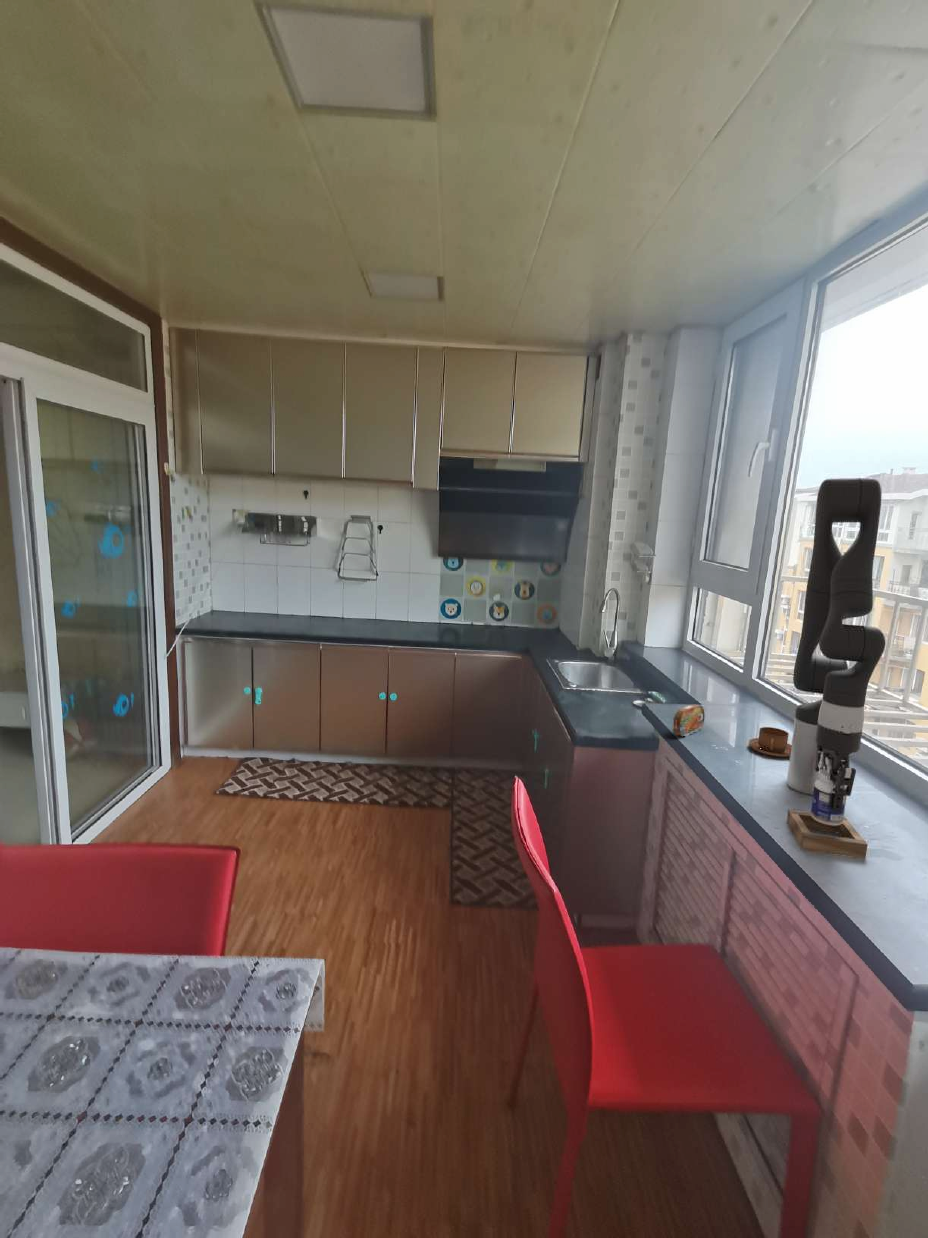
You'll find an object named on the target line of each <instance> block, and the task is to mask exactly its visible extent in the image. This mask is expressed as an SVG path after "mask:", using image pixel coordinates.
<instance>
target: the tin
mask: <svg viewBox="0 0 928 1238" xmlns="http://www.w3.org/2000/svg"><path fill="white" fill-rule="evenodd" d="M704 722H705V709H704V707H703V706H702V705H700V704H689V705H687V706H684V707H682V708H679V709H678V710H677V711H676V712H675V714H674V717H673V732H674V734H675V735H676V736H679V735H680V737H683V736H684V735H685V734H687V733H690V732H691V731H694V730H695V729H700V728H701V729H702V727H703V725H704ZM701 729H700V730H701Z"/></svg>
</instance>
